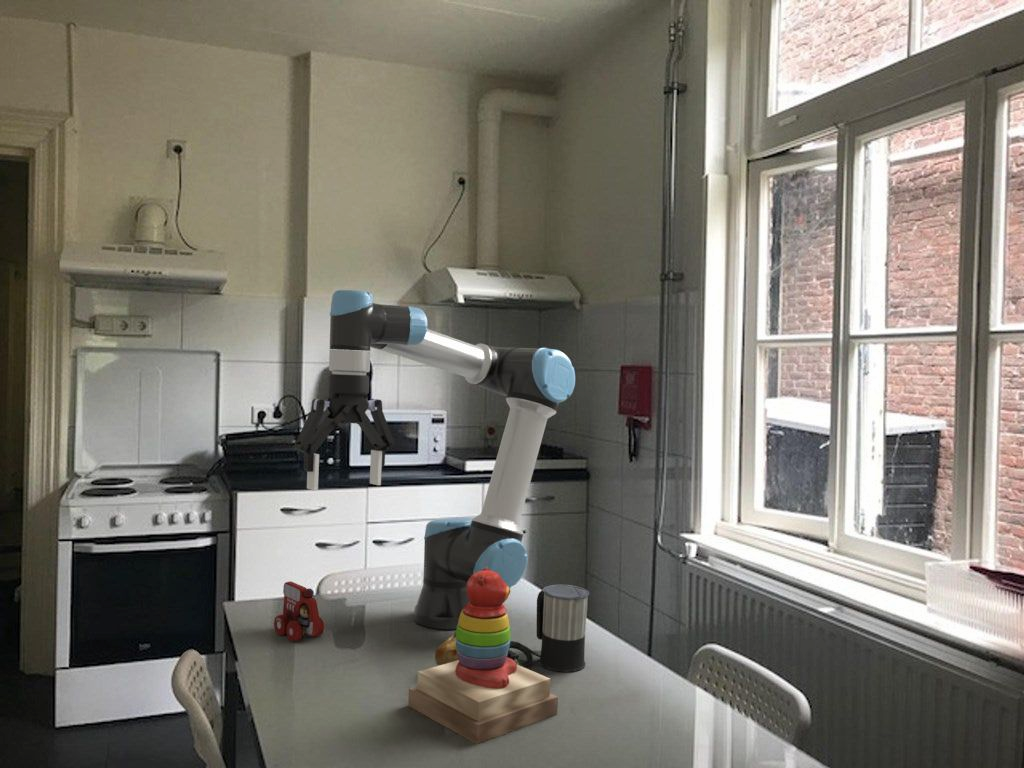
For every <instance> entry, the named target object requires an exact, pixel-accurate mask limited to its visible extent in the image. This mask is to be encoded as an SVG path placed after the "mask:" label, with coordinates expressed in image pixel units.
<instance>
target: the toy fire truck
mask: <svg viewBox="0 0 1024 768" xmlns="http://www.w3.org/2000/svg"><path fill="white" fill-rule="evenodd" d="M282 594H283V606H282V614H279V615H277V616H276V617H275V618H274V621H273V626H274V630H275V632H276V634H277V635H279V636H284V635H286V636H287V639H288V640H289V641H290V642H292V643H294V641H295V642H297V641H298V642H299V641H300V640H301V638H302V636H306V635H308V636H310V637H319V636H322V635H323V633H324V631H325V624H324V621H323V619H322V617H320V614H319V613H320V612H319V608H318V601H317V600H316V598H315V597H314V595H315V593H314V590H313V589H312V588H307V587H305V586H303V585H300V584H298V583H296V582H293V581H291V580H290V581H286V582H284V584H283V593H282Z"/></svg>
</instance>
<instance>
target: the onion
mask: <svg viewBox="0 0 1024 768" xmlns="http://www.w3.org/2000/svg"><path fill="white" fill-rule="evenodd" d="M451 634H452V635H451V636H450V637H448V638H447V639H446V640H445V641H443V642H442V643H441V644H440V645H439V646H438V647H437V649H436V650H435V651H434V652H435V653H434V662H435V664H436V665H437V666H440V665H443V664H447V663H450V662H454V661H458V660H459V659H458V654H457V648H456V631H455V632H454V633H451Z"/></svg>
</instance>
